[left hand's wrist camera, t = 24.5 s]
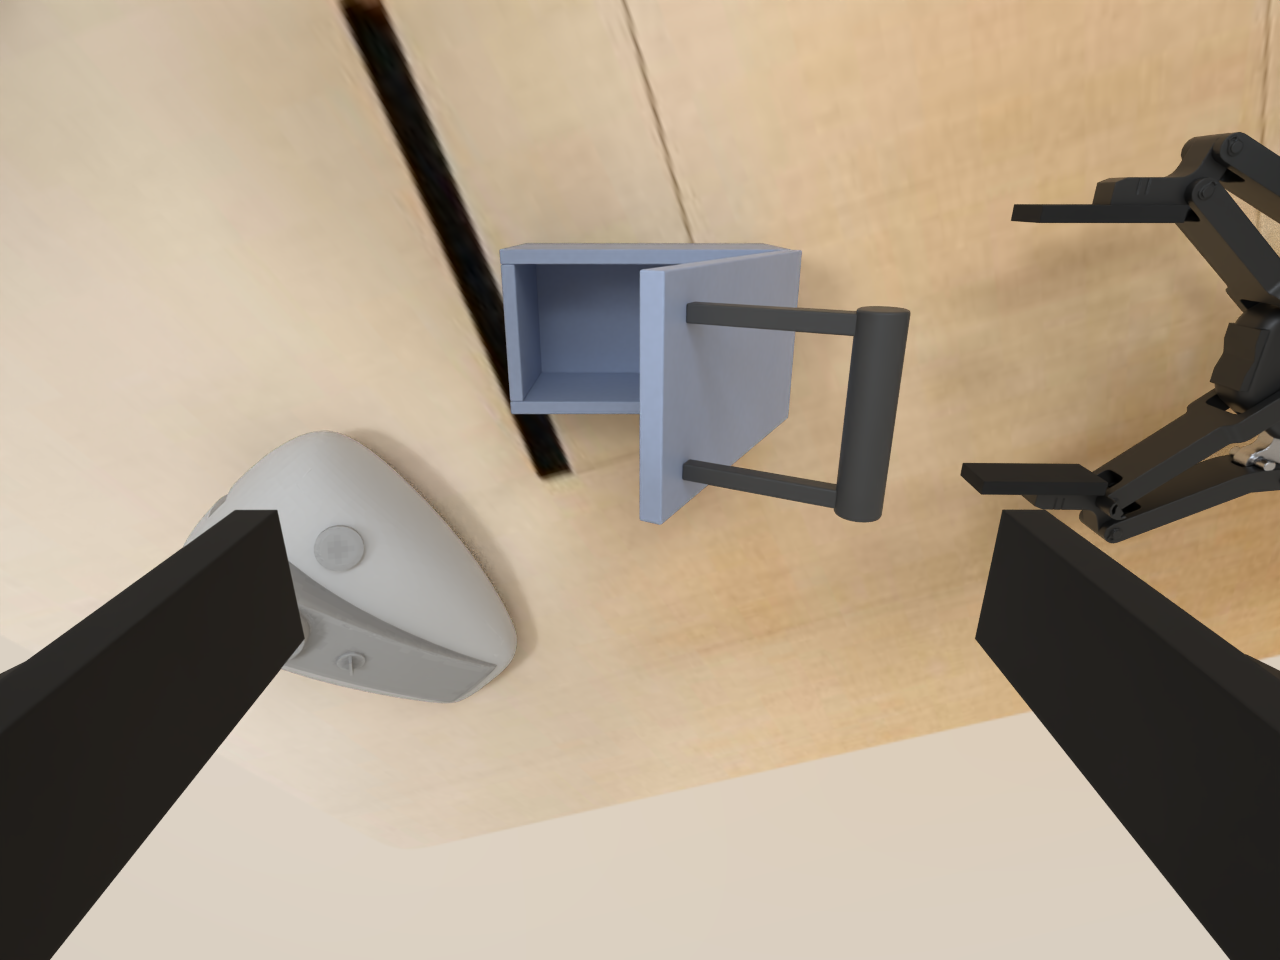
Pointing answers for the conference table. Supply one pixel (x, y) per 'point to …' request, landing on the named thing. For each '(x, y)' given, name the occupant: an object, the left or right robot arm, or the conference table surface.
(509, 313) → the chest
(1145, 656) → the left robot arm
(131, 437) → the conference table surface
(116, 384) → the conference table surface
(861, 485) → the lid
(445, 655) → the projector
